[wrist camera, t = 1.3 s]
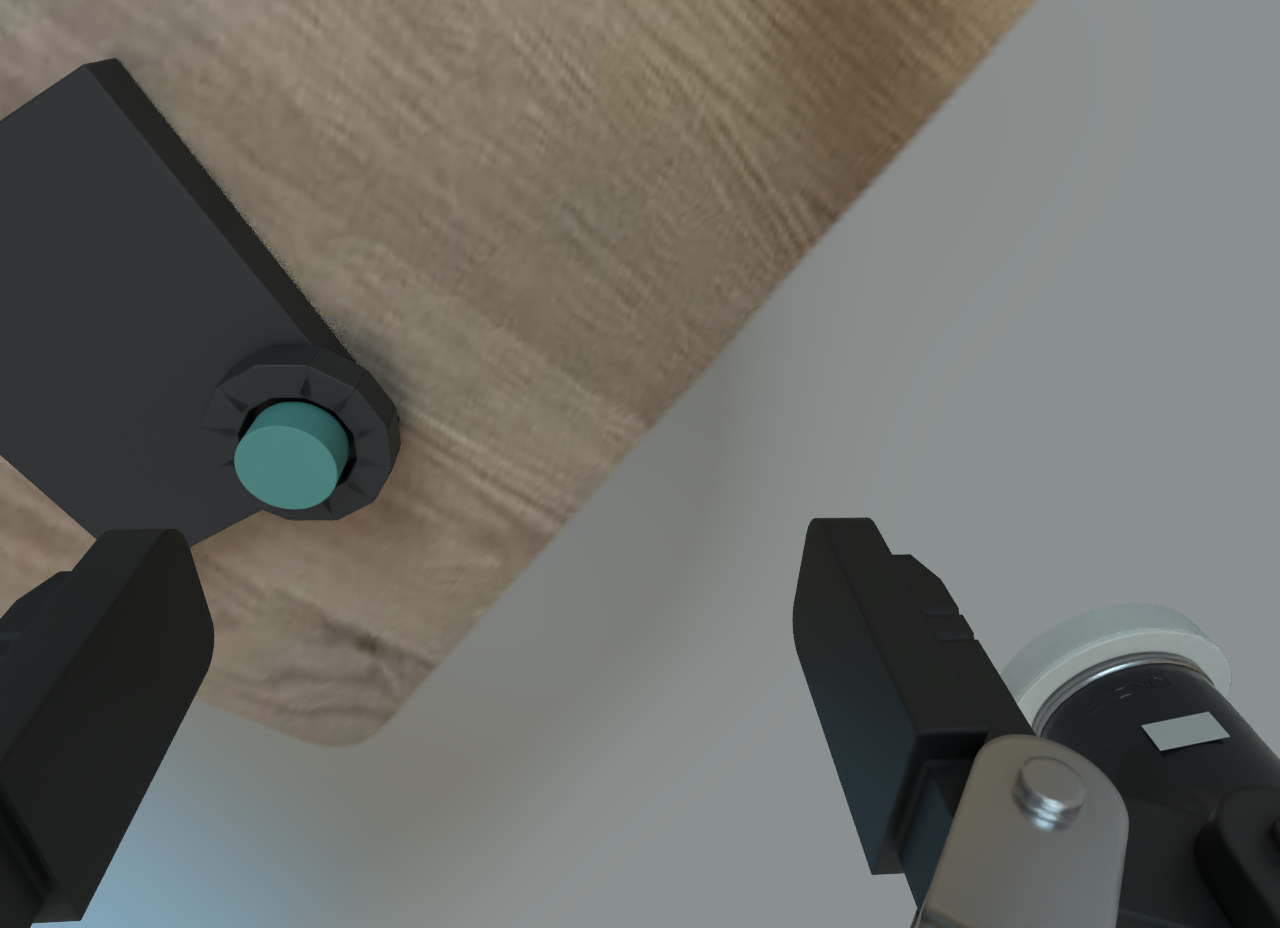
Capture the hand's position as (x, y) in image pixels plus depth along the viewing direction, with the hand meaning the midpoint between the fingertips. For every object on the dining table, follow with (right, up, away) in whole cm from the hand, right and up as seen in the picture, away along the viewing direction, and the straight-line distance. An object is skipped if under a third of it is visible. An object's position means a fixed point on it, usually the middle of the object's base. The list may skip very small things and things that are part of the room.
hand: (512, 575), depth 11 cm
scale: (-16, +6, +18) cm, 25 cm away
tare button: (-10, +2, +17) cm, 20 cm away
